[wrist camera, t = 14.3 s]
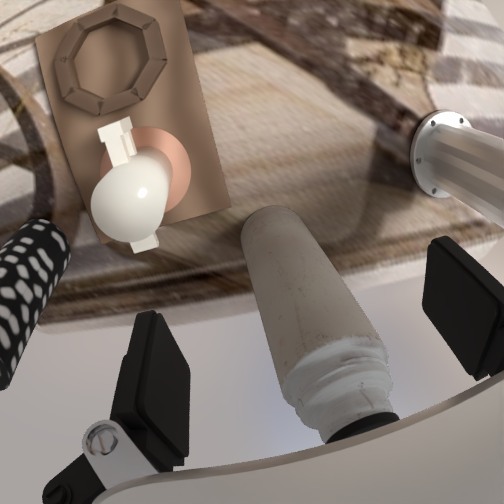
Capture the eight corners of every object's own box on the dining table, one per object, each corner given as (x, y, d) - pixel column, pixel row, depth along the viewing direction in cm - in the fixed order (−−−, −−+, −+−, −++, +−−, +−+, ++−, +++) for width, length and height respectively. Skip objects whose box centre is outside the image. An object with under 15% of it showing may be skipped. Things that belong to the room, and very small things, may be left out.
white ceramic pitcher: (183, 202, 35) (179, 244, 26) (132, 217, 34) (113, 263, 26) (154, 106, 29) (136, 115, 21) (101, 125, 29) (65, 143, 20)
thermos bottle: (293, 267, 43) (383, 463, 19) (233, 259, 41) (283, 480, 17) (312, 212, 39) (448, 398, 15) (249, 199, 37) (338, 416, 13)
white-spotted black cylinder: (68, 282, 39) (16, 401, 21) (17, 266, 36) (-50, 371, 19) (73, 228, 35) (2, 342, 18) (18, 212, 33) (-71, 308, 16)
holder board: (175, -15, 24) (173, -24, 21) (230, 203, 37) (233, 213, 34) (39, 39, 24) (26, 36, 21) (103, 239, 37) (97, 252, 34)
